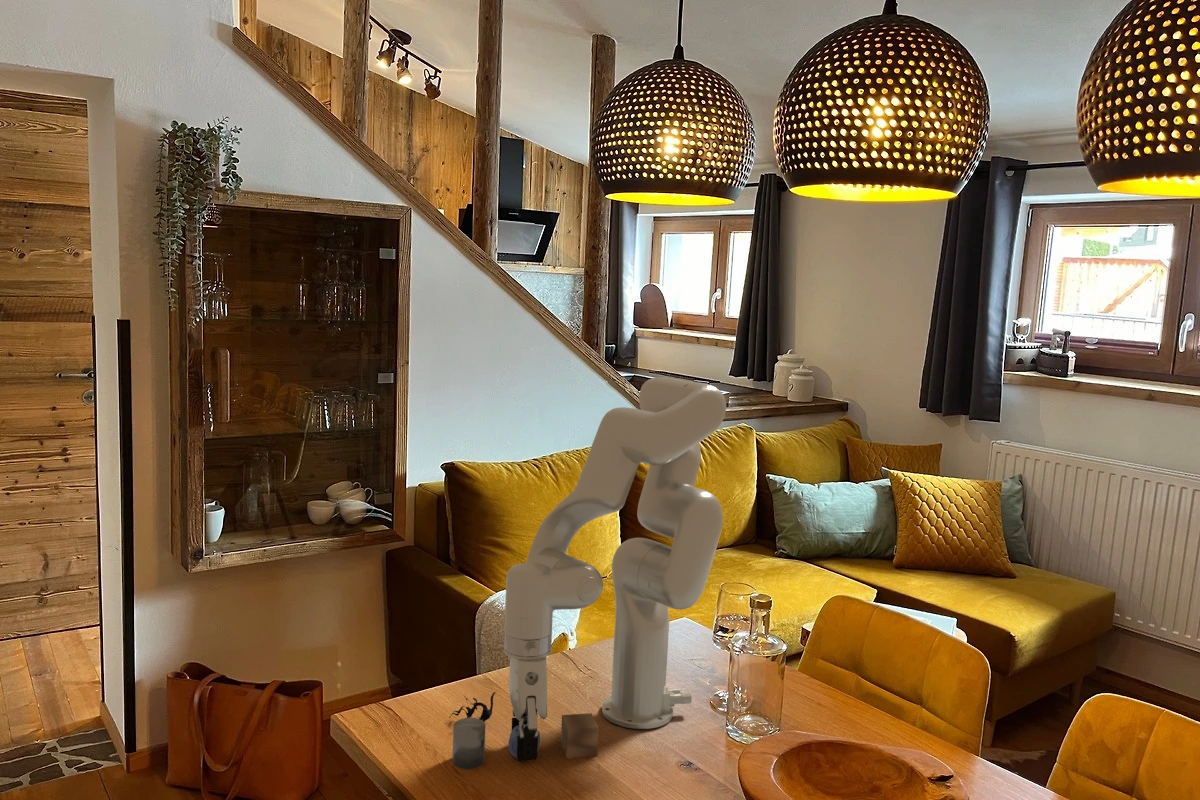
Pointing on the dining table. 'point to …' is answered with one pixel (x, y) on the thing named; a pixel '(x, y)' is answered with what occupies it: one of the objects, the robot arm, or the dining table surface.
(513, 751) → the decorative dice
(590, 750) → the walnut block
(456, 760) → the dark metal cylinder
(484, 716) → the creature
